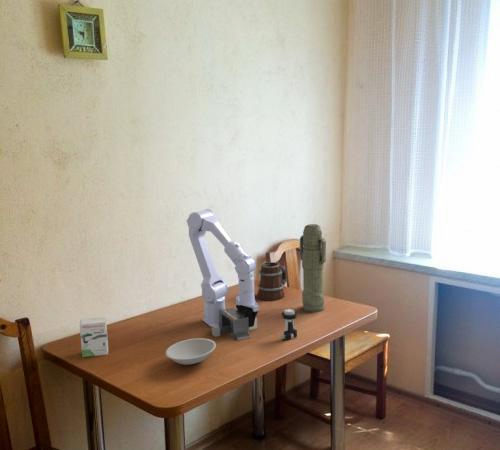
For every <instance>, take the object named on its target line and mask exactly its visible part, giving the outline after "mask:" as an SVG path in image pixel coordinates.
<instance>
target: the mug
mask: <svg viewBox="0 0 500 450" xmlns="http://www.w3.org/2000/svg"><path fill="white" fill-rule="evenodd" d="M258 273H259V275H260V277H259V284H257V287H258V291H257V296H258V299H260V300H264V301H272V302H273V301H278V300H281V299H283V298H285V292H284V288H285V286H284V285H285V284H286V283H287V281H288V277H287V269H286V266H284V265H283V266H282V265H280V263H279V262H272V261H270V262H269V261H267V262H263V263H261V266H260V270H259V271H258Z"/></svg>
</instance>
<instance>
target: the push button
mask: <svg viewBox="0 0 500 450" xmlns="http://www.w3.org/2000/svg"><path fill="white" fill-rule="evenodd" d="M281 316H282V318H283V319H284V331H283V332H282V335H281V336H280V337H281V338H280V339H281V340H286V341H287V340H290V339H291V340H292V339H294V338H297V337H298V330H297V329H296V328H295V319H297V316H298V314H297V311H295V310H294V309H292V308H287V309H284V311H282V312H281Z"/></svg>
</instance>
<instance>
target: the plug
mask: <svg viewBox="0 0 500 450" xmlns="http://www.w3.org/2000/svg"><path fill="white" fill-rule="evenodd" d="M255 329H258V318H257V317H256V318H255V322H254V326H253V327H249V331H251V330H255ZM211 334H212V336H213V337H215V338H218V337H221V336H223V335H228V334H231V326H227V327H222V328H220V326H219V325H217V324H215V325H212V327H211Z"/></svg>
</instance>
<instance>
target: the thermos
mask: <svg viewBox="0 0 500 450" xmlns="http://www.w3.org/2000/svg"><path fill="white" fill-rule="evenodd" d="M326 251H327V241H326V239H325V237H323V231H322V229H321V225H318V224H315V223H314V224H307V225H305V226H304V228H303V231H302V235H300V238H299V256H300V258H299V259H300V261H301V268H302V273H303V275H302V276H303V280H302V281H303V290H302V292H301V293H302V296H301V298H302V299H301V300H302V310H303V311H305V312H310V313H319V312H322V311H324V310H325V306H324V305H325V292H324V289H323V288H324V285H323V284H324V283H323V282H324V280H323V279H324V278H323V277H324V274H323V273H324V267H325V266H324V265H325V263H326V261H327V257H326V256H327V254H326Z"/></svg>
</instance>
